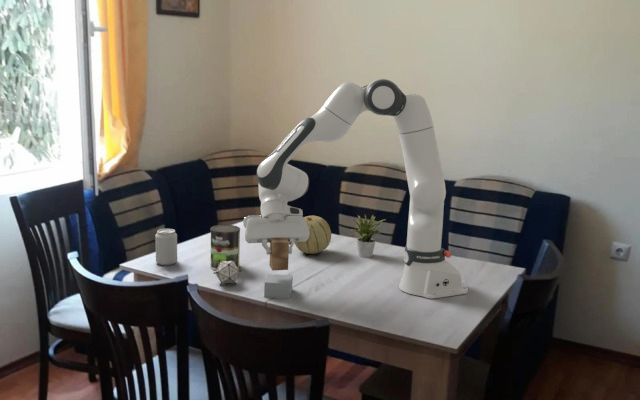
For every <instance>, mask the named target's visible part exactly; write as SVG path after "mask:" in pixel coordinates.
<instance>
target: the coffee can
mask: <svg viewBox="0 0 640 400" xmlns="http://www.w3.org/2000/svg"><path fill="white" fill-rule="evenodd" d="M209 231H210V269H211V270H214V271H216V270H217V268H218V265H219V263H220V262H219V260H220V261H233V259H234V258H235V260H234V262H235V264H236V266H237V268H238V269H239V268H240V250H241V249H240V248H241V247H240V245H241V244H240V242H241V228H240V226H237V225H233V224H216V225H213V226H211V227H210V229H209Z"/></svg>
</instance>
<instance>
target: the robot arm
mask: <svg viewBox="0 0 640 400" xmlns="http://www.w3.org/2000/svg"><path fill="white" fill-rule="evenodd" d="M366 111H367V112H368V111H369V112H371V113H373V114H375V115H376V116H377V115H378V116H391V117H393V118H394V120H395V123H396V126H397V127H396V128H397V131H398V132H397V133H398V136H399V141H400V147H401V151H402V157H403V161H404V168H405V174H406V180H407V185H408V191H409V208H408V209H409V210H408V221H407V231H406V232H407V234H406V235H407V236H406V245H405V247H404V254H403V261H404V264H403V265H404V266H403V271H402V274H401V279H400V282H399V284H398V289H400V290H401V291H402V292H405V293H406V294H410V295H414V296H419V297H423V298H426V299H432V300H433V299H439V298H446V297H451V296H452V297H453V296H454V297H455V296H460V295H465V294H468V293H469V289H468V286H466V284H465V283H463V282H462V275H461V273H460V270H458V269H457V268H456V267H455V266H454V265H453V264H452V263H451V262H449V261H448V260H447V259H450V258H451V257H452V253H451V251H450V250H446V249H445V248H443V247H442V239H443V237H442V236H443V227H444V225H443V224H444V206H445V199H446V195H447V190H446V182H445V178H444V175H443V171H442V170H443V169H442V164H441V159H440V153H439V149H438V147H439V146H438V143H437V138H436V132H435V128H434V121H433V119H432V115H431V112H430V109H429V106H428V104H427V101H426V100H425V98H424V97H423V96H422V95H419V94H410V93H409V94H405V93H404V92H403V91H402V90H401V88H399V87H398V85H397V84H396V83H394V81H392V80H390V79H387V78H377V79H374V80H373V81H372V82H370V83H368V84H366V85H364V86H362V87H361V86H360V85H358V84H357V83H354V82H351V81H350V82H349V81H345V82H342V83H341V84H340V85H339V86H338V87H337V88H336V89H335V90H334V91H333V92H332V93H330V95H329V96H328V98H327V99H326V101H325V102H324V103H323V105H322V106H321V107H320V109H319V110H318V111H317V112H316V113H314V114H313V115H311V116H310V117H305V118H304V119H302V120H301V121H300V122H299V123H298V124H297V125H296V126H295V127H294V128H293V129H292V130H291V131H290V132H289V133H288V134H287V135H286V137H285V138H284V139H283V140H282V141H281V142H280V143H279V145H277V146H276V148H275V149H274V150H273V151H272V152H271V153H270V154H269V155H267V156H266V157H265V158H264V159H263V160H262V161H260V163H259V164H258V166H257V169H256V178H257V182H258V188H257V189H258V197H259V201H260V215H252V214H250V215H247V216H245V217H244V218H243V221H242V222H243V226H244V228H245V242H246V243H247V244H261V246H262V247H263V249H264V250H265V252H266V255H270V254H272V248H271V247H270V246H269V245H268V244H270V239H276V238H287V240H288V241H289V255H291V254H293V246H294V245H295V243H294V242H305V241H307V239H308V238H309V229H308V225H307V222H306V220H305V218H304V217H305V216H303V215H304V214H303V209H301V208H298V207H294V206H292V205H288V202H293V201H295V200H298V199H300V198H301V197H303V196H304V195H306V193H307V192H308V189H309V186H310V179H309V175H308V173H307V172H306V171H304V170H302V169H300V168H298V167H295V166H293V165H291V164H290V163H289V161H291V159H293V158H294V156H295V155H296V154H297V153H298V152H299V151H300V150H301V148H302V147H303V146H305V145H306V144H309V143H312V142H325V143H326V142H327V143H328V142H329V143H330V142H336V141H339V140H341V139H342V138H343V137H344V136H345V135H346V134H347V133H348V132H349V130H350V129H351V128H352V126H353V124H354V123H355V122H356V120H357V118H358V117H359V116H360V115H362V113H364V112H366ZM446 258H447V259H446Z"/></svg>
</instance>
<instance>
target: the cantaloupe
mask: <svg viewBox="0 0 640 400" xmlns="http://www.w3.org/2000/svg"><path fill="white" fill-rule="evenodd" d="M303 217H304V218H305V220H306V222H307V225H308V229H309V238H308V239H307V241H305V242H294V245H295V246H296V248H297V249H298V250H299V251H300V252H302V253H305V254H308V255H315V254H320V253H322V252H324V251H325V250H326V249H327V248H328V246H329V245H330V243H331V240H332V230H331V228H330V224H329V223H328V222H327V220H325V219H323V217H320V216H317V215H308V216H303Z"/></svg>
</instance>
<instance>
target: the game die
mask: <svg viewBox="0 0 640 400" xmlns="http://www.w3.org/2000/svg"><path fill="white" fill-rule="evenodd" d="M234 260H235V258H234V259H233V261H220V260H219V262H220V263H219V265H218V268H217V270H215V272H213V274H214V275H216V277H217V278H218V280H219V282H220V283H219V286H221V285H222V284H229V283H230V284H231V283H233V284H234V285H237V283H236V281H237V278H238V275H239V273H241V272H242V270H241V269H239V268H237V266H236V264H235V262H234Z"/></svg>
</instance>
